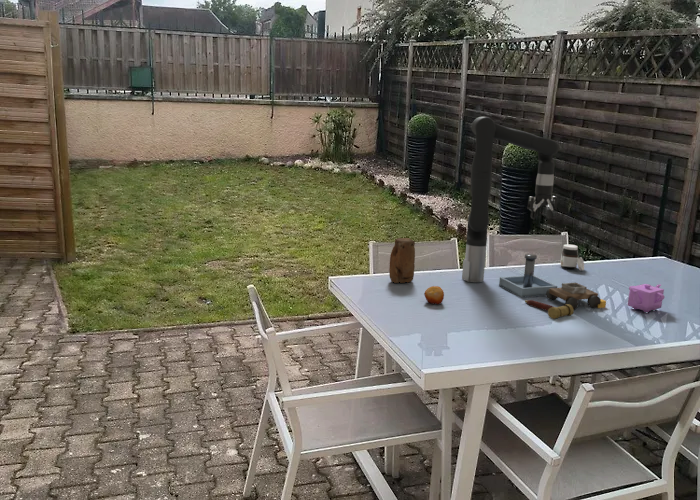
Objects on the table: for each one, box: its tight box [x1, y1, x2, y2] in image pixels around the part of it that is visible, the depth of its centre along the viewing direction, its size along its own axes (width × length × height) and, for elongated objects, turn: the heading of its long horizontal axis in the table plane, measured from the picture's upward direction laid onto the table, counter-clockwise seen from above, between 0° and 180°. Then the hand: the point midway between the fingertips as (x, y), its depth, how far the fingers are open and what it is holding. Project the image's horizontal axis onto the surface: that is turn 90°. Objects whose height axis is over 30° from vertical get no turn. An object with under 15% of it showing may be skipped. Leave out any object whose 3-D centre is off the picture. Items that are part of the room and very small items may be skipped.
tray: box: [498, 275, 558, 298], centre depth 284 cm, size 18×18×4 cm
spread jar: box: [560, 244, 585, 272], centre depth 324 cm, size 12×11×12 cm
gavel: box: [524, 299, 575, 320], centre depth 258 cm, size 21×5×10 cm
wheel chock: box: [596, 298, 607, 309], centre depth 264 cm, size 4×3×3 cm
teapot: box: [627, 283, 666, 313], centre depth 262 cm, size 15×13×11 cm
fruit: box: [423, 285, 445, 305], centre depth 262 cm, size 8×8×8 cm
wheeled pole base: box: [546, 282, 601, 310], centre depth 267 cm, size 16×15×8 cm
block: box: [388, 237, 416, 284], centre depth 289 cm, size 11×8×20 cm
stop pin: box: [523, 253, 538, 288], centre depth 283 cm, size 5×5×15 cm
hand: (540, 218), depth 292 cm, fingers open, 8 cm apart
